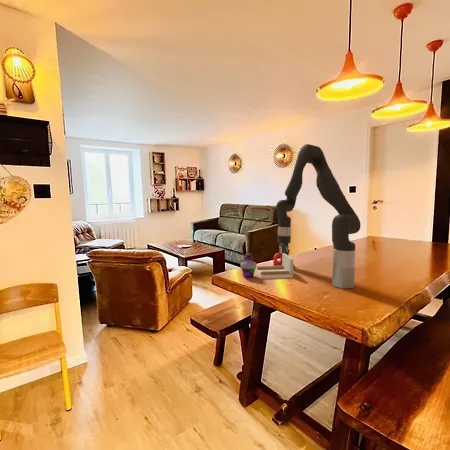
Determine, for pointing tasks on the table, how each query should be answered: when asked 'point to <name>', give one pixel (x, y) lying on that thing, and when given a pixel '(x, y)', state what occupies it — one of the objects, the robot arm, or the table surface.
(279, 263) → the bracket
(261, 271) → the cleat board
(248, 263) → the potion bottle
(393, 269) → the table surface
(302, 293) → the table surface
